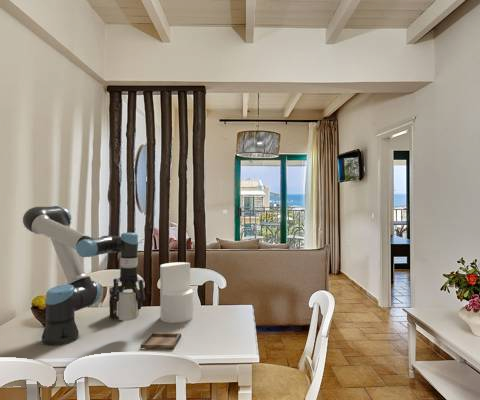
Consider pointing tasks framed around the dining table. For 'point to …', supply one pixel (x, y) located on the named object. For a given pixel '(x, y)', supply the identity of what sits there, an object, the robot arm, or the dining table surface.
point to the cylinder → (175, 292)
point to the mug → (112, 303)
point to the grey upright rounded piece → (127, 305)
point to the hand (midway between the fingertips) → (127, 315)
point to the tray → (161, 341)
